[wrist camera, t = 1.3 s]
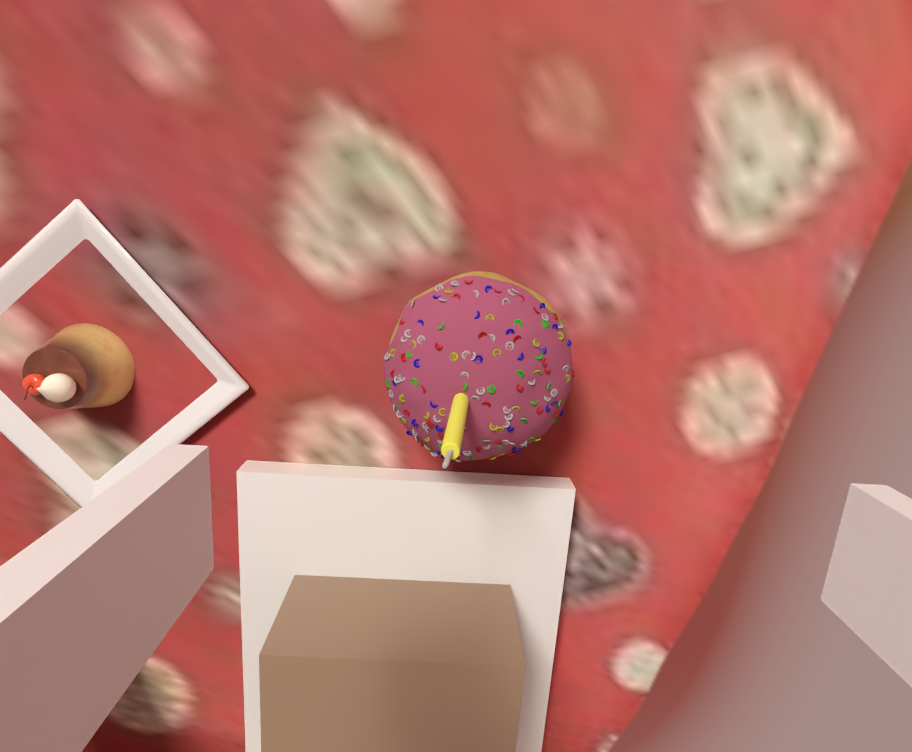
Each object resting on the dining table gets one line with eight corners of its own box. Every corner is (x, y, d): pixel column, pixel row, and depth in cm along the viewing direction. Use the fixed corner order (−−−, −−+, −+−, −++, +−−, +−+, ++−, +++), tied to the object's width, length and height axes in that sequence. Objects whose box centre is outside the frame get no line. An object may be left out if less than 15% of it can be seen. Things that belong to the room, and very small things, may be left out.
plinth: (255, 775, 35) (206, 914, 28) (246, 460, 30) (183, 530, 23) (530, 784, 36) (552, 922, 29) (569, 477, 31) (608, 551, 23)
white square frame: (-68, 345, 29) (-167, 365, 24) (91, 198, 27) (18, 190, 22) (102, 507, 31) (42, 554, 26) (257, 382, 30) (222, 408, 25)
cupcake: (471, 455, 30) (487, 591, 19) (358, 350, 29) (299, 425, 17) (586, 348, 29) (682, 421, 17) (474, 231, 27) (497, 224, 16)
